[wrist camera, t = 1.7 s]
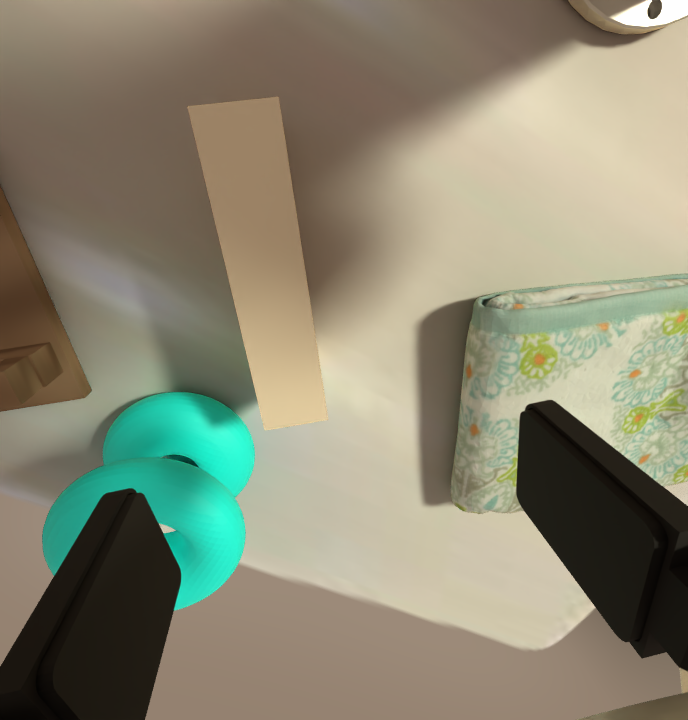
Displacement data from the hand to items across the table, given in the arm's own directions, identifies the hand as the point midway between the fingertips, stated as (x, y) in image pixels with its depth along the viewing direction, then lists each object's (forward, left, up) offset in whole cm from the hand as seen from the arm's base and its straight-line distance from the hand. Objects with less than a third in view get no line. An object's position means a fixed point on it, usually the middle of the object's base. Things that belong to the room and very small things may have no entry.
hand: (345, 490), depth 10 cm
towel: (+10, +20, -18) cm, 29 cm away
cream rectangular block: (-3, -2, -18) cm, 18 cm away
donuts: (+9, -10, -18) cm, 23 cm away
